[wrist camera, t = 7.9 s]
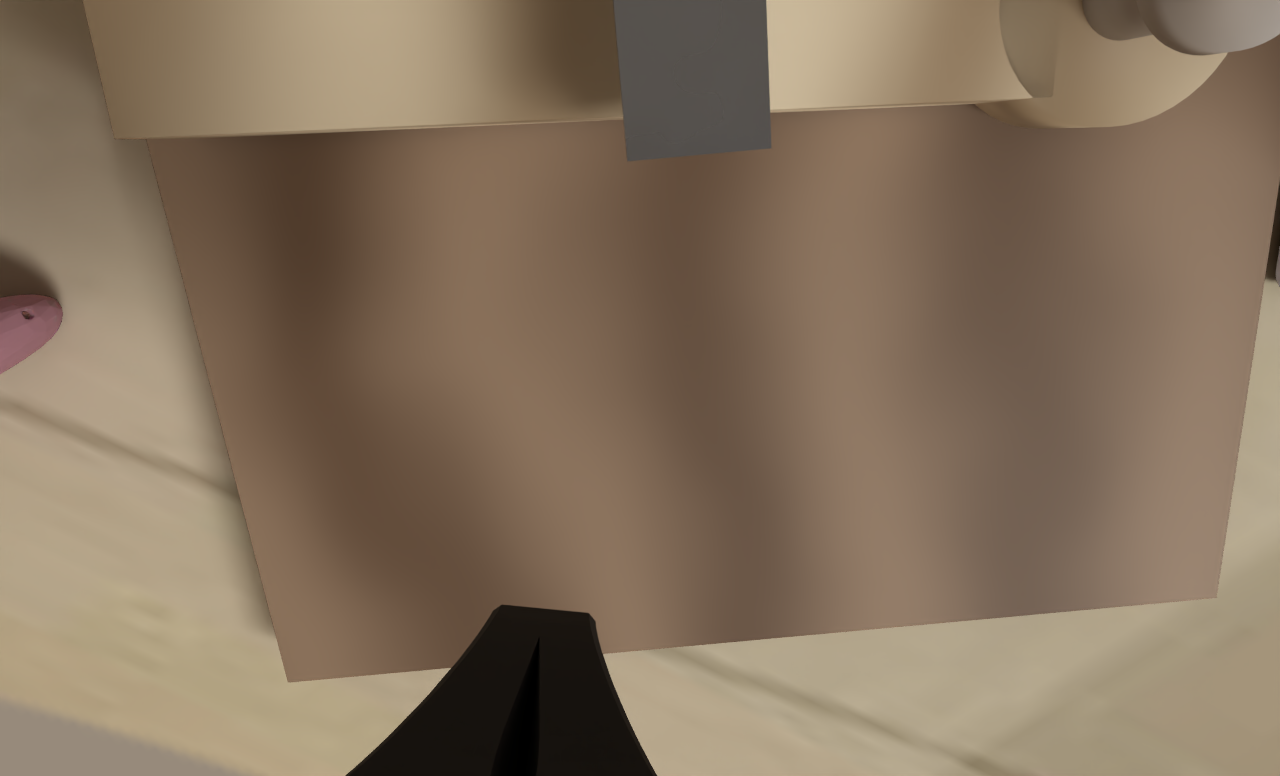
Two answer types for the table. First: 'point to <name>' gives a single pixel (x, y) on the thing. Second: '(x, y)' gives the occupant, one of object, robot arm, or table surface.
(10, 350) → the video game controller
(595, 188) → the walnut board
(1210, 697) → the table surface
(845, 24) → the wooden link
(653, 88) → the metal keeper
